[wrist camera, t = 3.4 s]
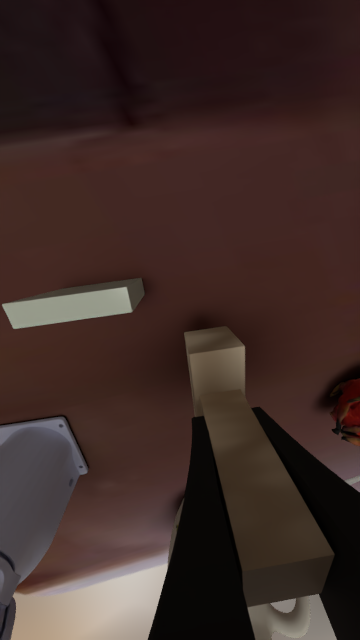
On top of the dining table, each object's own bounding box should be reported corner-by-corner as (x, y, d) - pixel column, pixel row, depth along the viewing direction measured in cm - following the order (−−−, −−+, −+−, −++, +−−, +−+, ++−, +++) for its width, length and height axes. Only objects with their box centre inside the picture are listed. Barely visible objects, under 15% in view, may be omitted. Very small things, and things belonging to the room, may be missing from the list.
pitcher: (269, 503, 28) (356, 710, 15) (166, 533, 29) (164, 755, 16) (257, 462, 25) (358, 686, 12) (140, 497, 25) (112, 745, 12)
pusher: (226, 326, 12) (373, 484, 3) (230, 412, 15) (317, 624, 6) (184, 332, 12) (226, 509, 3) (195, 418, 14) (235, 640, 6)
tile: (144, 294, 16) (132, 312, 10) (69, 304, 16) (13, 329, 10) (141, 277, 15) (126, 286, 10) (63, 288, 15) (1, 304, 10)
